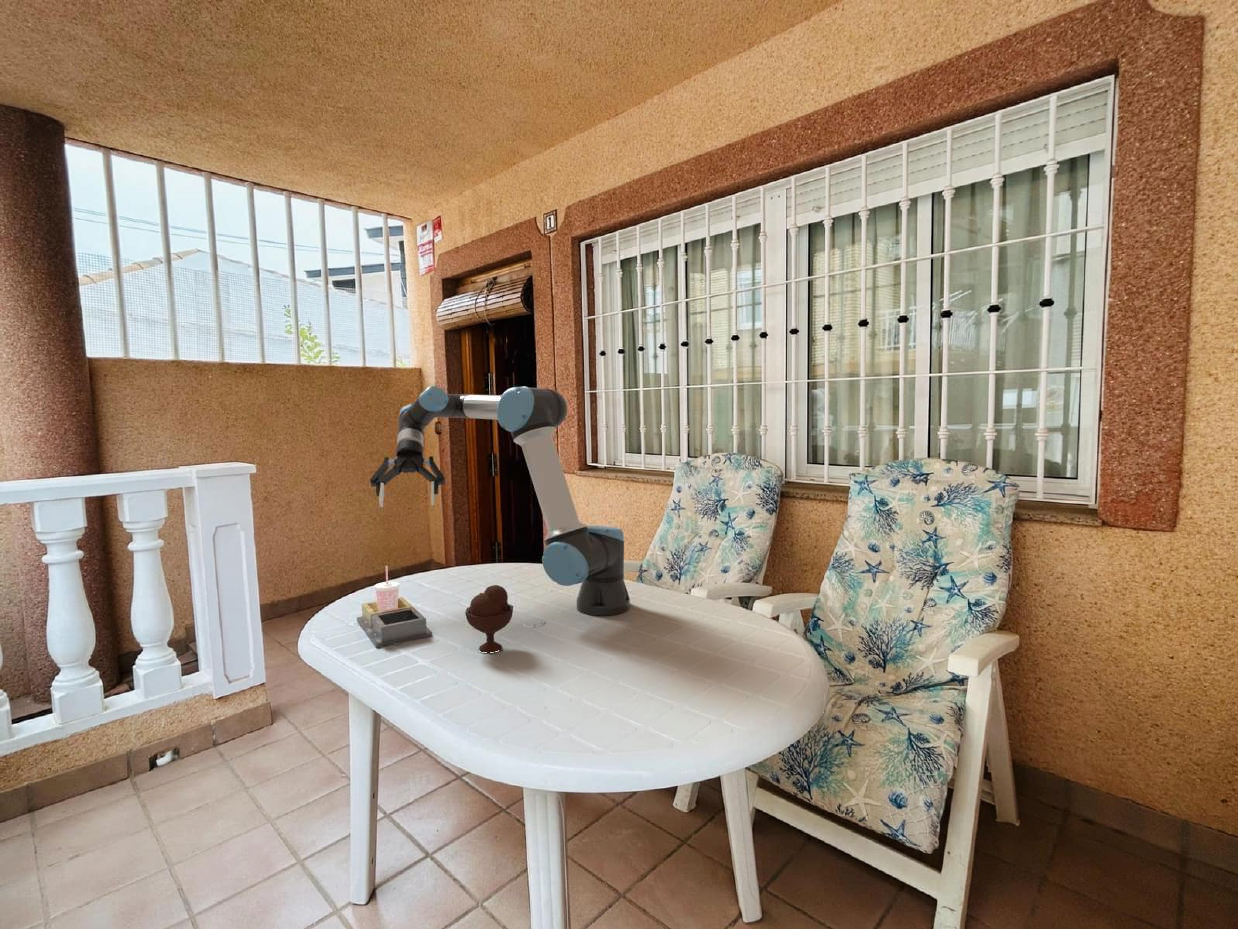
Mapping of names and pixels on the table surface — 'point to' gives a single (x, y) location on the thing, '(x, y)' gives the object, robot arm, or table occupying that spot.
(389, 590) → the beverage cup
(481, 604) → the ice cream bowl
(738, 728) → the table surface
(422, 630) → the square compartment tray
